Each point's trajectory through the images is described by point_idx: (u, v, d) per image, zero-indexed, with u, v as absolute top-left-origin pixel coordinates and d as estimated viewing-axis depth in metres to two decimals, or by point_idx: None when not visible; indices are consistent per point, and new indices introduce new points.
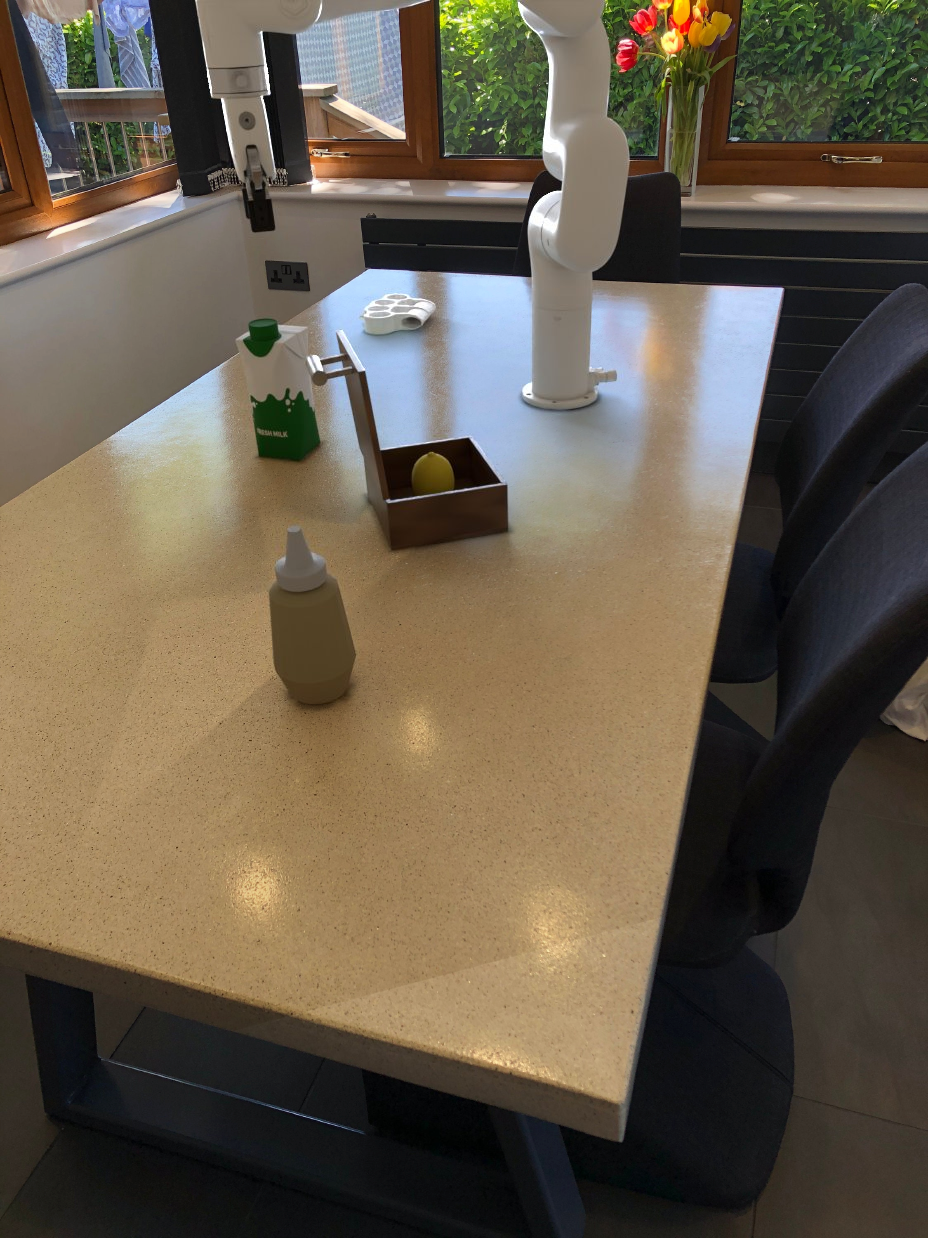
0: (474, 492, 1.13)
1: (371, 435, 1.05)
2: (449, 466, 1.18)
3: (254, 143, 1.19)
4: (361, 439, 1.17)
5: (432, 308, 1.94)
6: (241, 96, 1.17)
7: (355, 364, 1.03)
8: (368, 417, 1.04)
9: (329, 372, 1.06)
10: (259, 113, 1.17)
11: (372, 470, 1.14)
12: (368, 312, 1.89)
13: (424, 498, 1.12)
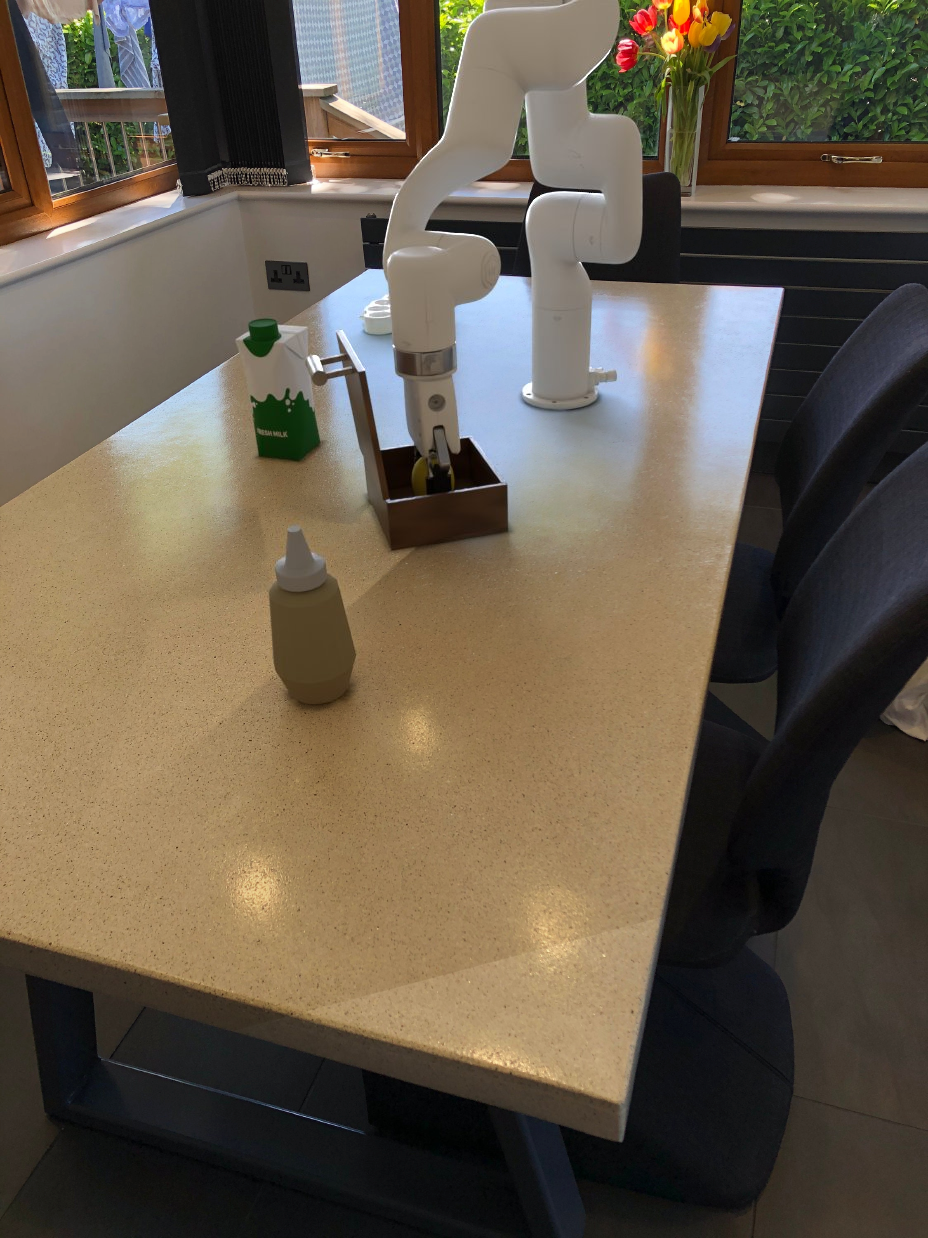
0: (474, 492, 1.13)
1: (371, 435, 1.05)
2: None
3: (442, 424, 1.10)
4: (361, 439, 1.17)
5: None
6: (431, 378, 1.08)
7: (355, 364, 1.03)
8: (368, 417, 1.04)
9: (329, 372, 1.06)
10: (449, 395, 1.09)
11: (372, 470, 1.14)
12: (368, 312, 1.89)
13: (424, 498, 1.12)
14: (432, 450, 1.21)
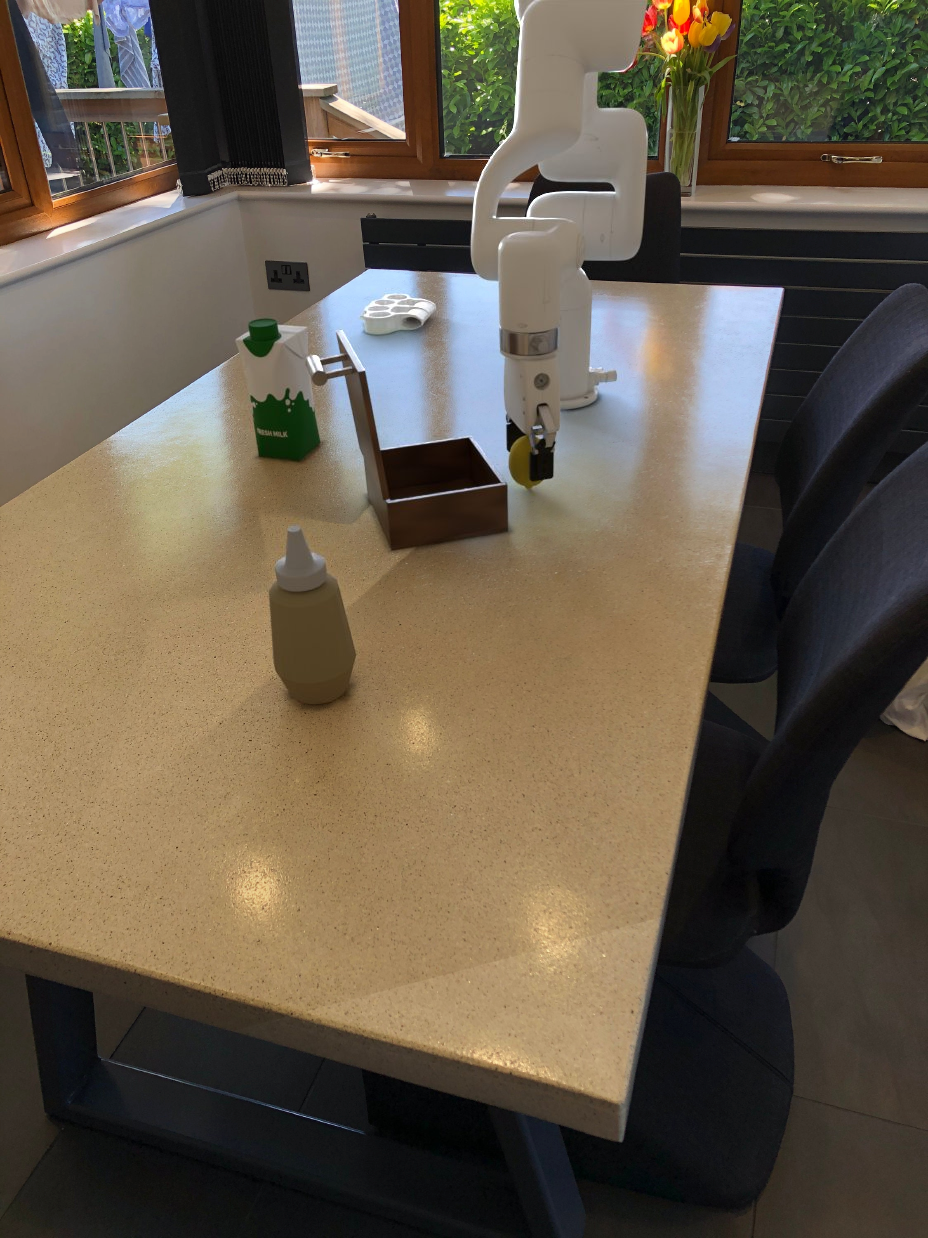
0: (474, 492, 1.13)
1: (371, 435, 1.05)
2: None
3: (546, 402, 1.15)
4: (361, 439, 1.17)
5: (432, 308, 1.94)
6: (537, 358, 1.13)
7: (355, 364, 1.03)
8: (368, 417, 1.04)
9: (329, 372, 1.06)
10: (554, 374, 1.14)
11: (372, 470, 1.14)
12: (368, 312, 1.89)
13: (424, 498, 1.12)
14: None
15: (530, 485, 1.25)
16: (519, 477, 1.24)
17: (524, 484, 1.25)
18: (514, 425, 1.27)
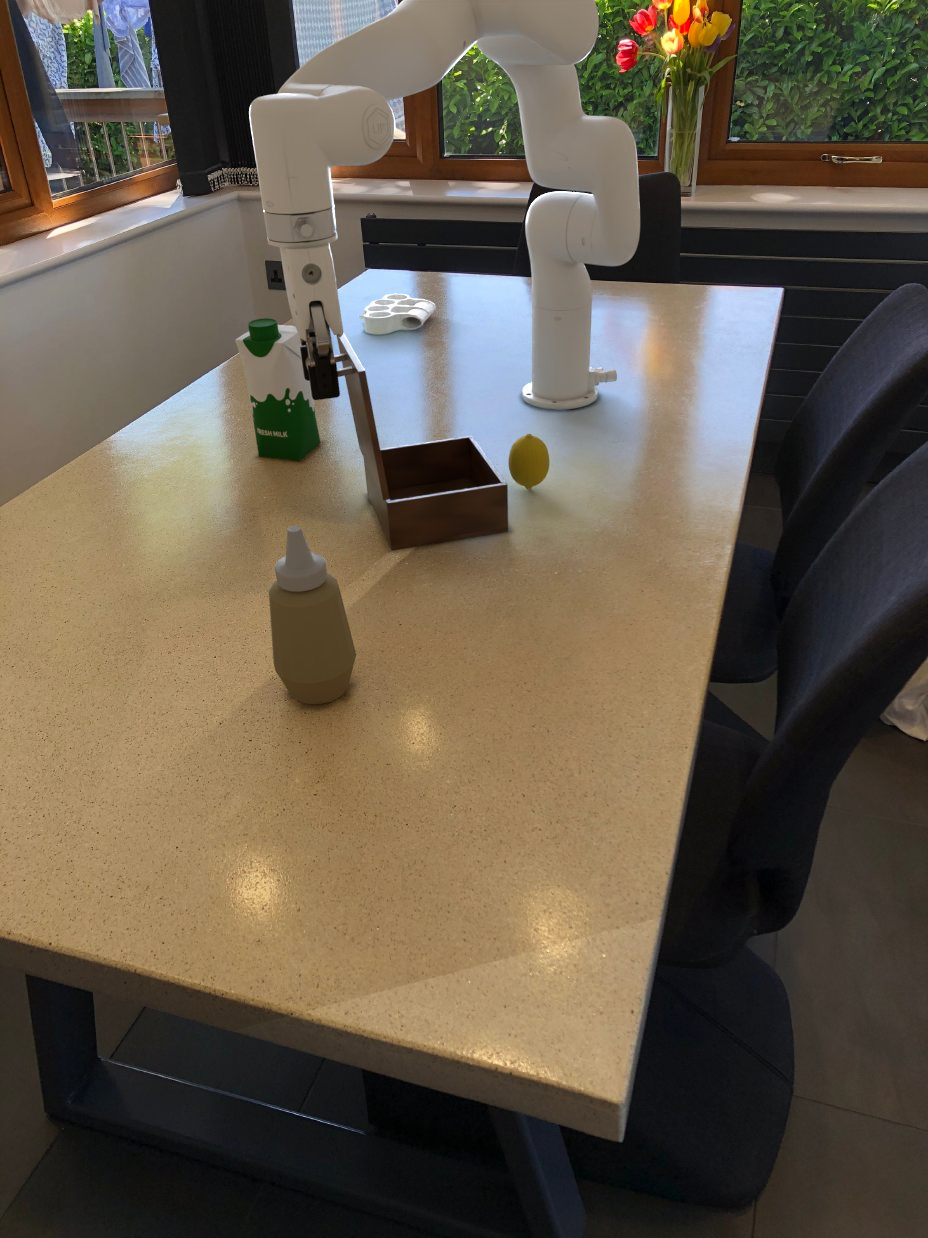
0: (474, 492, 1.13)
1: (371, 435, 1.05)
2: (545, 447, 1.23)
3: (319, 299, 0.99)
4: (361, 439, 1.17)
5: (432, 308, 1.94)
6: (305, 245, 0.97)
7: (355, 364, 1.03)
8: (368, 417, 1.04)
9: None
10: (326, 265, 0.97)
11: (372, 470, 1.14)
12: (368, 312, 1.89)
13: (424, 498, 1.12)
14: None
15: (530, 485, 1.25)
16: (519, 477, 1.24)
17: (524, 484, 1.25)
18: None
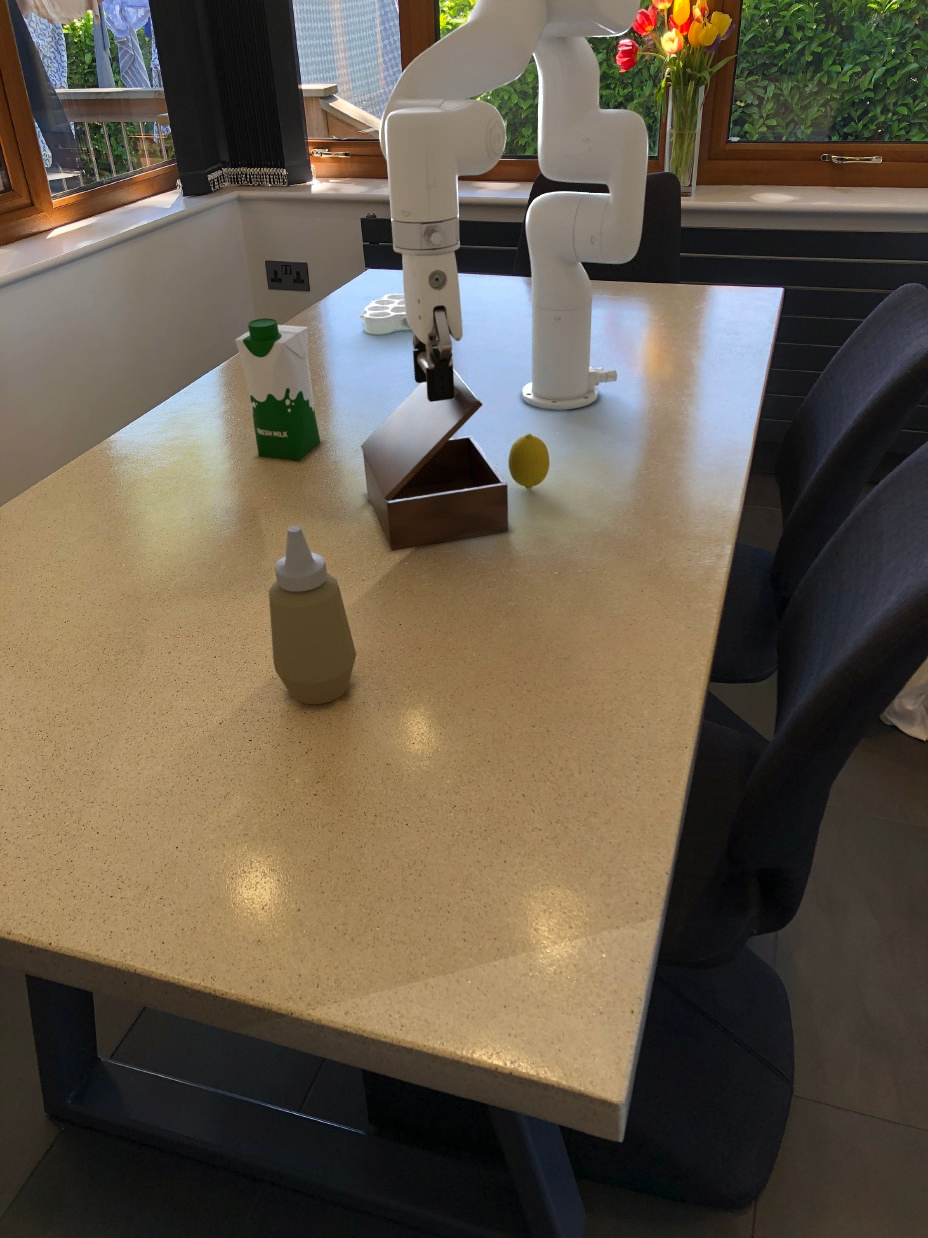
0: (474, 492, 1.13)
1: (433, 447, 1.08)
2: (545, 447, 1.23)
3: (443, 304, 1.03)
4: (384, 442, 1.18)
5: None
6: (432, 253, 1.01)
7: (473, 393, 1.09)
8: (447, 434, 1.08)
9: None
10: (451, 272, 1.01)
11: (384, 470, 1.14)
12: (368, 312, 1.89)
13: (424, 498, 1.12)
14: None
15: (530, 485, 1.25)
16: (519, 477, 1.24)
17: (524, 484, 1.25)
18: (421, 351, 1.13)
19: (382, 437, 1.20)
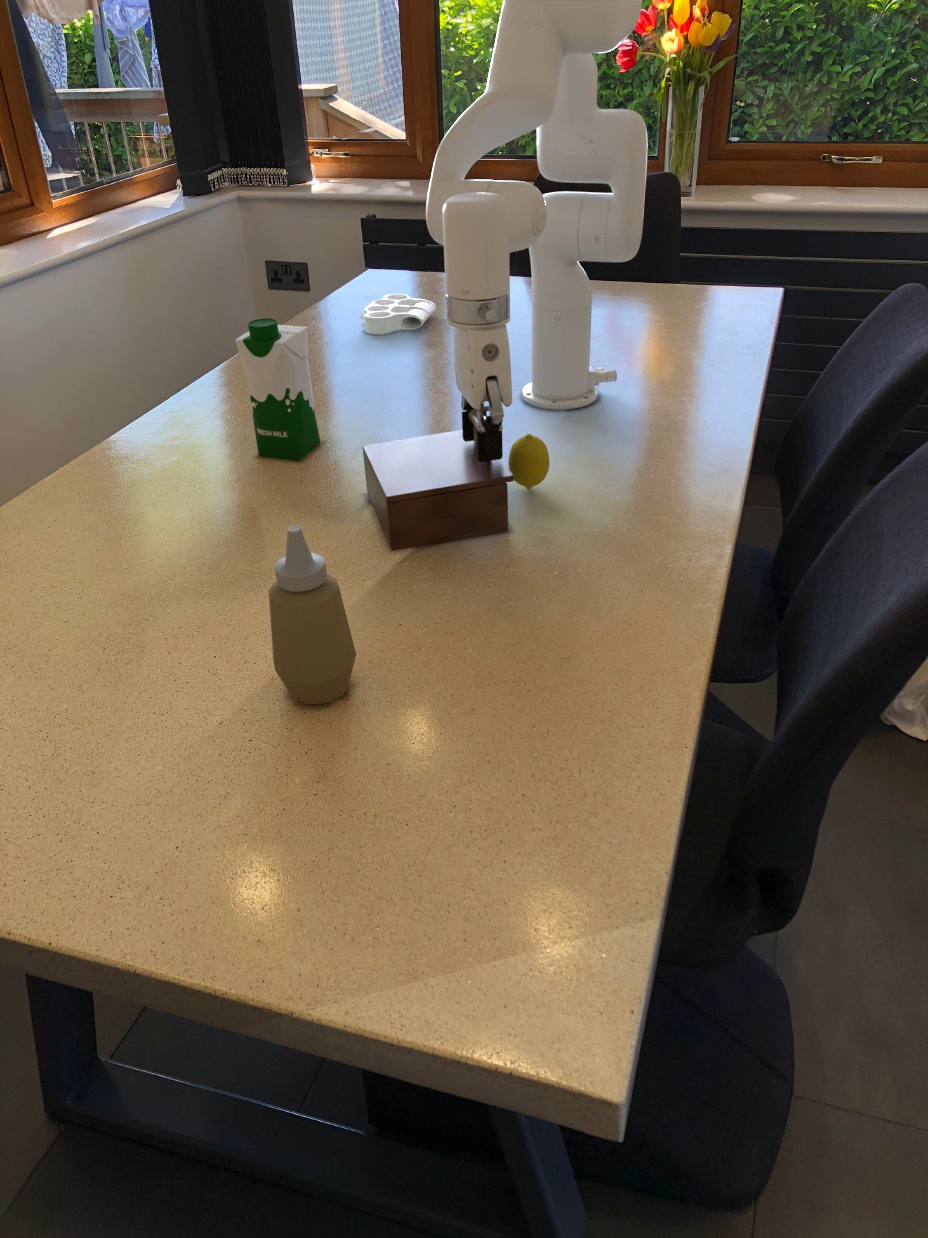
0: (474, 492, 1.13)
1: (454, 486, 1.12)
2: (545, 447, 1.23)
3: (495, 374, 1.09)
4: (394, 455, 1.20)
5: (432, 308, 1.94)
6: (486, 327, 1.07)
7: None
8: (471, 483, 1.12)
9: None
10: (503, 344, 1.07)
11: (390, 476, 1.15)
12: (368, 312, 1.89)
13: (424, 498, 1.12)
14: None
15: (530, 485, 1.25)
16: (519, 477, 1.24)
17: (524, 484, 1.25)
18: None
19: (391, 451, 1.21)
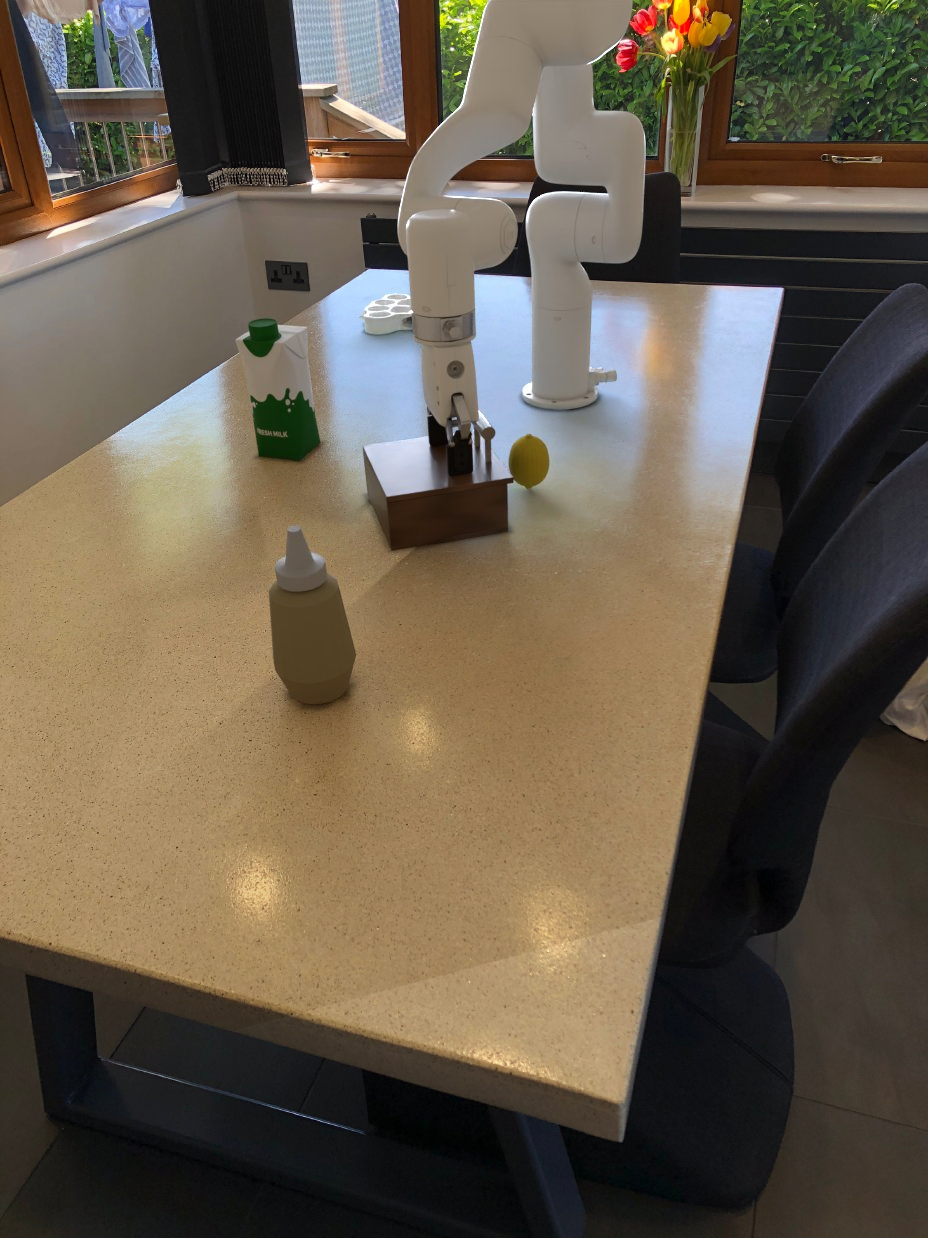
0: (474, 492, 1.13)
1: (454, 487, 1.12)
2: (545, 447, 1.23)
3: (461, 391, 1.09)
4: (394, 456, 1.20)
5: None
6: (450, 344, 1.07)
7: (507, 469, 1.15)
8: (471, 484, 1.12)
9: (490, 441, 1.16)
10: (468, 361, 1.07)
11: (390, 476, 1.15)
12: (368, 312, 1.89)
13: (424, 498, 1.12)
14: None
15: (530, 485, 1.25)
16: (519, 477, 1.24)
17: (524, 484, 1.25)
18: (435, 417, 1.20)
19: (391, 451, 1.21)
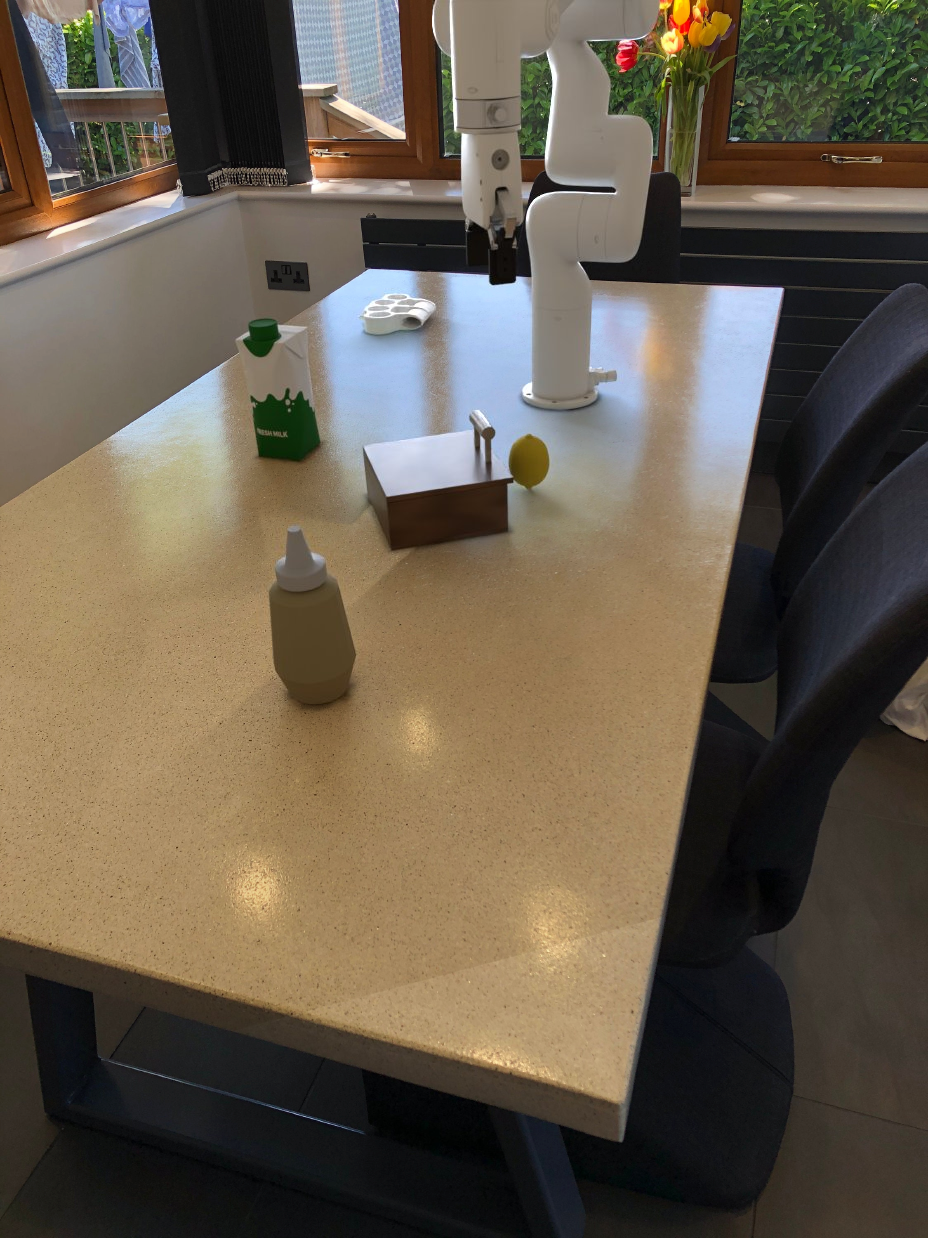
0: (474, 492, 1.13)
1: (454, 487, 1.12)
2: (545, 447, 1.23)
3: (505, 185, 1.03)
4: (394, 456, 1.20)
5: (432, 308, 1.94)
6: (495, 131, 1.01)
7: (507, 469, 1.15)
8: (471, 484, 1.12)
9: (490, 441, 1.16)
10: (514, 151, 1.02)
11: (390, 476, 1.15)
12: (368, 312, 1.89)
13: (424, 498, 1.12)
14: None
15: (530, 485, 1.25)
16: (519, 477, 1.24)
17: (524, 484, 1.25)
18: (474, 233, 1.14)
19: (391, 451, 1.21)
